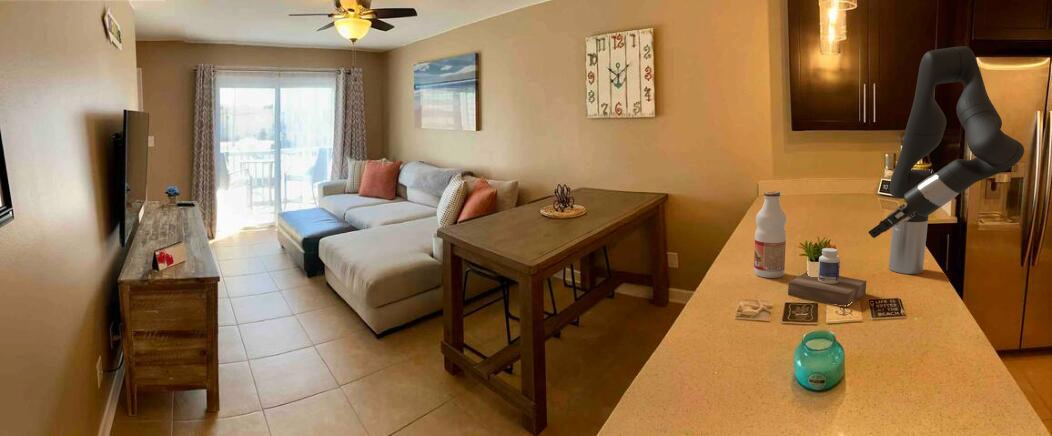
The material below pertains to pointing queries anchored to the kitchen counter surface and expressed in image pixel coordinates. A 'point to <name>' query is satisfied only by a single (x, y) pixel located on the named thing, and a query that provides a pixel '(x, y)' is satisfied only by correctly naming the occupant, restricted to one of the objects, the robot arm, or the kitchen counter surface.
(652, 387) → the kitchen counter surface
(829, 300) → the walnut base
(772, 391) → the kitchen counter surface
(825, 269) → the pill bottle
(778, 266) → the fruit juice
